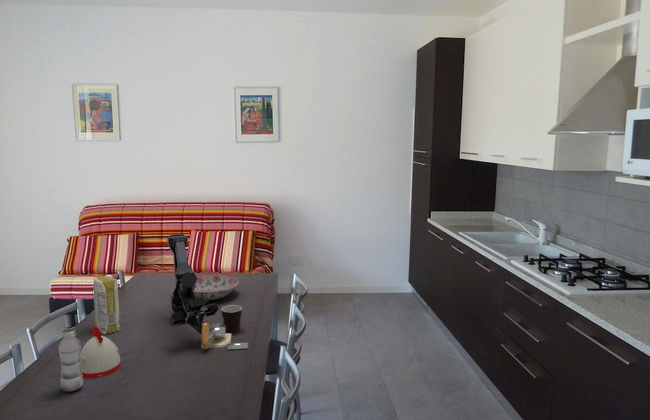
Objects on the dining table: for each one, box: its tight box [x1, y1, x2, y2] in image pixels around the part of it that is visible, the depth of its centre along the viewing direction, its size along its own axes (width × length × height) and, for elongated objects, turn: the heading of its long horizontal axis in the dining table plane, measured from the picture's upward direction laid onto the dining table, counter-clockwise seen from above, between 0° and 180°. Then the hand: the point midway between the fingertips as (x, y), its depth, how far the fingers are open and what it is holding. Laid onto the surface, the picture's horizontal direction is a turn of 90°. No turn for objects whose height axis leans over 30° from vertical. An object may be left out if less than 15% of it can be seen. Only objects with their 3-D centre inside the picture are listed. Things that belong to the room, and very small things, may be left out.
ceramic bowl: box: [194, 274, 240, 301], centre depth 242 cm, size 29×29×8 cm
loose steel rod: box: [226, 342, 249, 351], centre depth 183 cm, size 8×2×2 cm
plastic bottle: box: [57, 328, 84, 393], centre depth 151 cm, size 6×7×20 cm
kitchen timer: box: [80, 325, 122, 379], centre depth 165 cm, size 14×14×15 cm
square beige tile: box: [200, 333, 232, 349], centre depth 189 cm, size 11×11×3 cm
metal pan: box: [201, 321, 226, 350], centre depth 185 cm, size 14×7×10 cm, turn 165°
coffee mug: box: [221, 304, 243, 335], centre depth 201 cm, size 12×9×10 cm
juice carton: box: [92, 274, 121, 336], centre depth 197 cm, size 9×8×24 cm
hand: (201, 333), depth 181 cm, fingers closed
